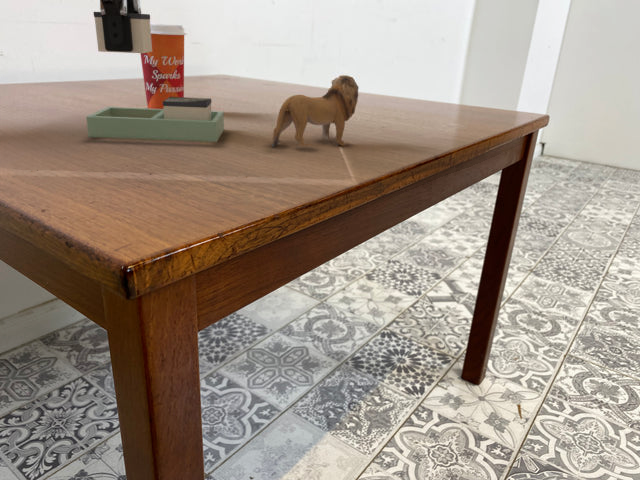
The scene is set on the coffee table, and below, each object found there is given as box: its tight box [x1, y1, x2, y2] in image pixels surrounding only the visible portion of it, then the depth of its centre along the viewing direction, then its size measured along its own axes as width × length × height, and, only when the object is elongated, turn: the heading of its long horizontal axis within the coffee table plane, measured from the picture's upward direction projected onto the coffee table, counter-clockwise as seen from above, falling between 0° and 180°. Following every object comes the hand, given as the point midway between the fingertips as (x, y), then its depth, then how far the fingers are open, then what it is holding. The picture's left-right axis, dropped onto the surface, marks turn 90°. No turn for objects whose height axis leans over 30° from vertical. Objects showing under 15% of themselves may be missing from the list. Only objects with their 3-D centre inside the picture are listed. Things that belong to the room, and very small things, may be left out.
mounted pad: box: [163, 96, 212, 121], centre depth 70 cm, size 6×4×4 cm
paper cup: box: [139, 23, 188, 109], centre depth 84 cm, size 8×8×14 cm
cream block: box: [92, 11, 152, 54], centre depth 65 cm, size 6×4×4 cm
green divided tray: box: [85, 106, 225, 143], centre depth 70 cm, size 8×16×3 cm, turn 93°
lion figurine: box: [271, 74, 359, 148], centre depth 69 cm, size 15×5×9 cm, turn 134°
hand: (125, 48), depth 66 cm, fingers closed on cream block, 4 cm apart
